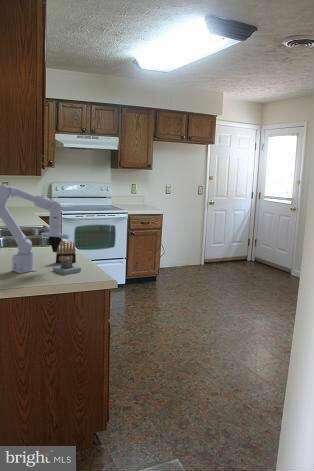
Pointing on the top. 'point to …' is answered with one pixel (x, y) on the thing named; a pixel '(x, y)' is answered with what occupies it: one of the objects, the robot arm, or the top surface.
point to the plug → (66, 263)
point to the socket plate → (67, 270)
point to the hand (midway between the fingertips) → (55, 251)
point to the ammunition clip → (66, 252)
